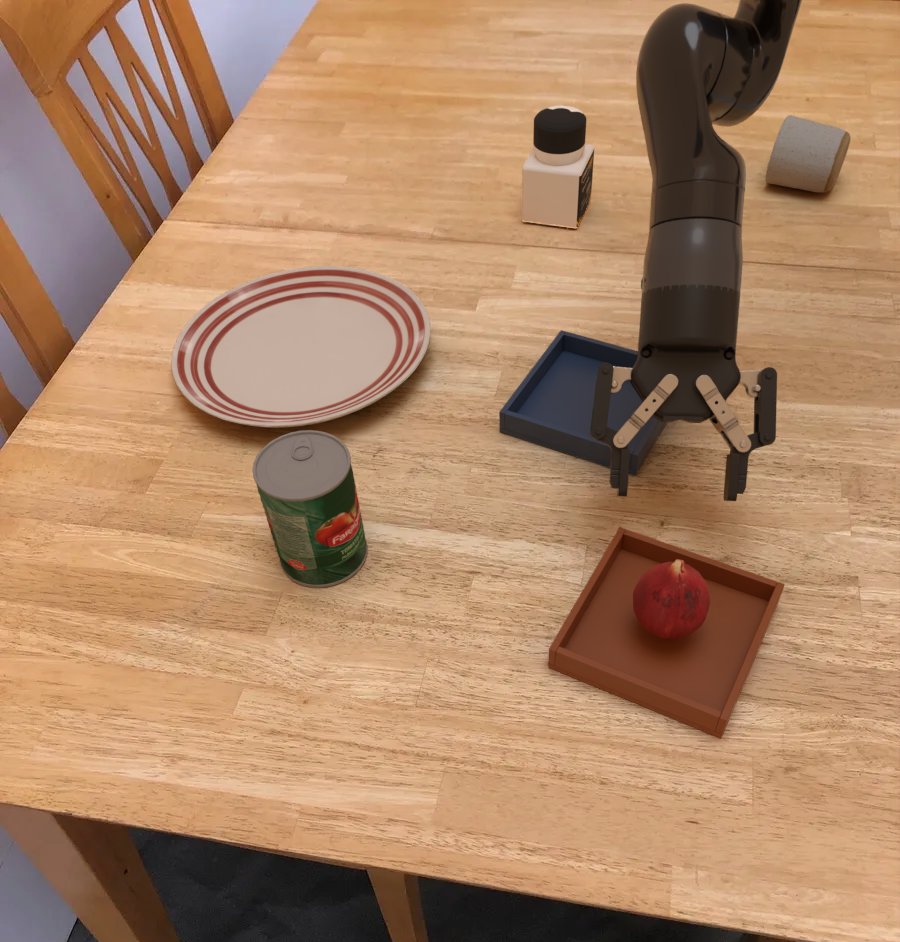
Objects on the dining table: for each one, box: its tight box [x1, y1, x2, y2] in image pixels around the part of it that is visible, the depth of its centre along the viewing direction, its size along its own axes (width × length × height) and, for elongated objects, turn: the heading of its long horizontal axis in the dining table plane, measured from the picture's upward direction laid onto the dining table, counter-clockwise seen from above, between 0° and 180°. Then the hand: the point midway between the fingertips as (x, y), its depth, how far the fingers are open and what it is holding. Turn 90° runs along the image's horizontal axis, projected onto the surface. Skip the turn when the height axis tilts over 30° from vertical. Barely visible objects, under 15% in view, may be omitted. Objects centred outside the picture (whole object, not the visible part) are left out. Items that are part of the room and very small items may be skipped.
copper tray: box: [547, 526, 785, 739], centre depth 74 cm, size 14×14×3 cm
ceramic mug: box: [765, 114, 851, 193], centre depth 113 cm, size 11×8×8 cm
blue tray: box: [498, 329, 668, 477], centre depth 91 cm, size 14×14×3 cm
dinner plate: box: [170, 265, 432, 429], centre depth 98 cm, size 28×27×3 cm
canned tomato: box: [252, 429, 369, 589], centre depth 78 cm, size 8×8×11 cm
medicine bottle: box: [521, 105, 595, 228], centre depth 110 cm, size 7×7×12 cm
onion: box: [633, 559, 710, 640], centre depth 71 cm, size 6×6×8 cm
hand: (675, 498), depth 74 cm, fingers open, 8 cm apart
